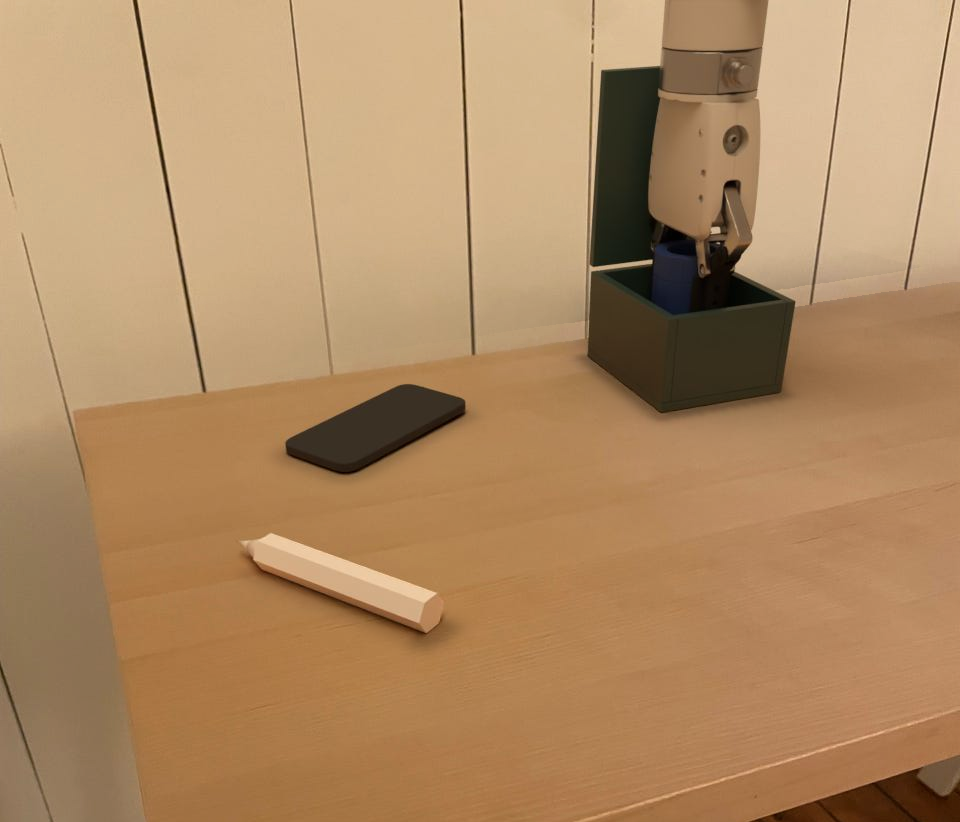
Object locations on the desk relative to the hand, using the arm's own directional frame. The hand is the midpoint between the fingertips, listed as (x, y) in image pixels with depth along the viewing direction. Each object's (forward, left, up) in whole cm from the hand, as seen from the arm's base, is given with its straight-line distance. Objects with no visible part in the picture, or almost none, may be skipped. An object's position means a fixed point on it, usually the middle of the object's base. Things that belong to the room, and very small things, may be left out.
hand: (686, 308), depth 88 cm
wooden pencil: (+43, +13, -6) cm, 45 cm away
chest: (0, 0, -6) cm, 6 cm away
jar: (0, 0, -5) cm, 5 cm away
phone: (+28, -6, -6) cm, 29 cm away
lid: (-2, -6, +10) cm, 12 cm away
